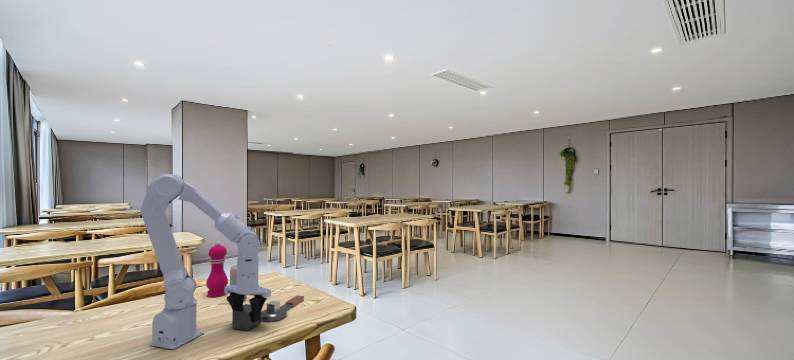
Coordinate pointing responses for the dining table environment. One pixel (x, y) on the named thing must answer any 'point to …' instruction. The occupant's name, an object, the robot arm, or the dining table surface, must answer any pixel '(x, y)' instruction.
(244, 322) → the dark grey brushed cube
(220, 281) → the pepper mill
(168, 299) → the robot arm
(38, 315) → the dining table surface
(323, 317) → the dining table surface
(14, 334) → the dining table surface
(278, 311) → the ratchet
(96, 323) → the dining table surface
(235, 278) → the energy drink
